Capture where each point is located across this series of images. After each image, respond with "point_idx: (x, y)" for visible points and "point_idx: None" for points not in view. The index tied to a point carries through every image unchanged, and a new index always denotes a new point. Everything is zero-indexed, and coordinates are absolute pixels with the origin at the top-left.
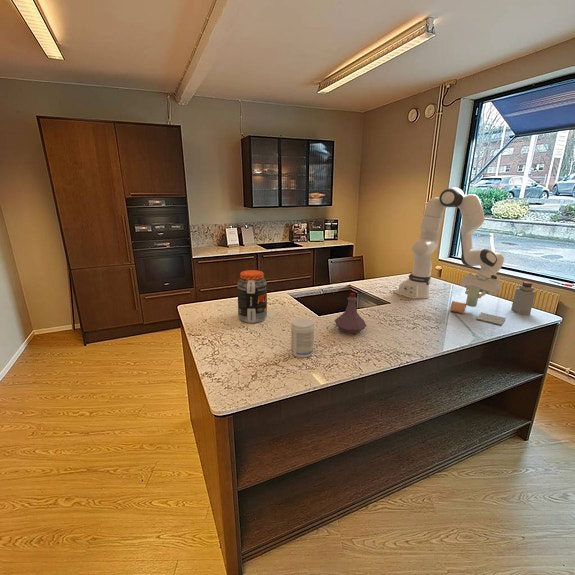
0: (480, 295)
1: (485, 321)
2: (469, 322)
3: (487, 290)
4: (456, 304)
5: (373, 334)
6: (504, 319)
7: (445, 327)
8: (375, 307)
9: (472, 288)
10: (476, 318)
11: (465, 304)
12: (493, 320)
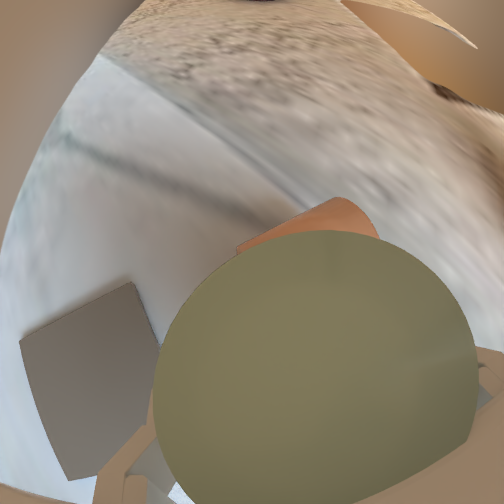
0: (150, 405)
1: (85, 309)
2: (132, 210)
3: (40, 501)
4: (306, 214)
5: (228, 5)
6: (53, 448)
7: (163, 93)
8: (393, 53)
9: (279, 242)
10: (130, 282)
11: None
12: (61, 359)
